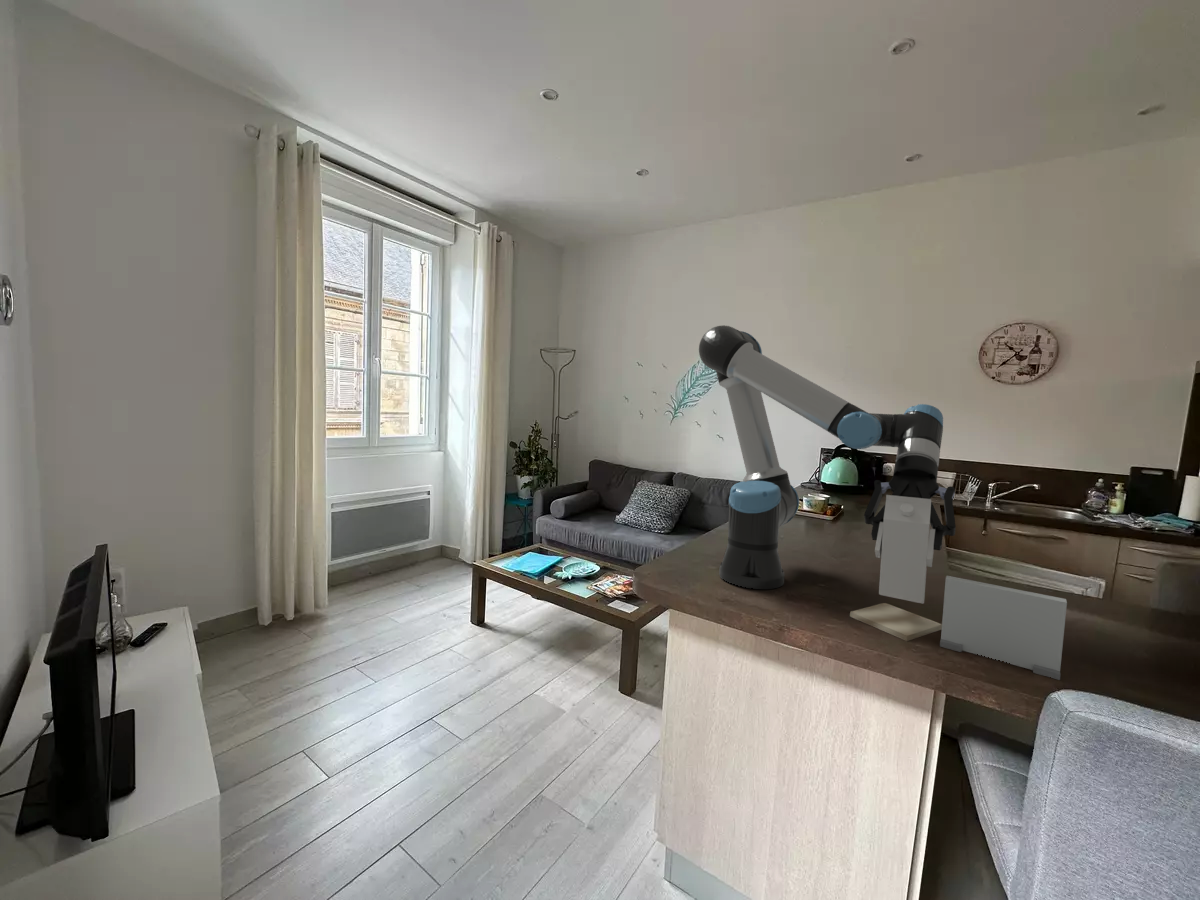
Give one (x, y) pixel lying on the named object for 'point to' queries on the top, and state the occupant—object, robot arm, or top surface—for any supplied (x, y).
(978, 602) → the grey screen
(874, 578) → the top surface
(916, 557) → the milk carton
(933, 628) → the birch board
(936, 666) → the top surface
